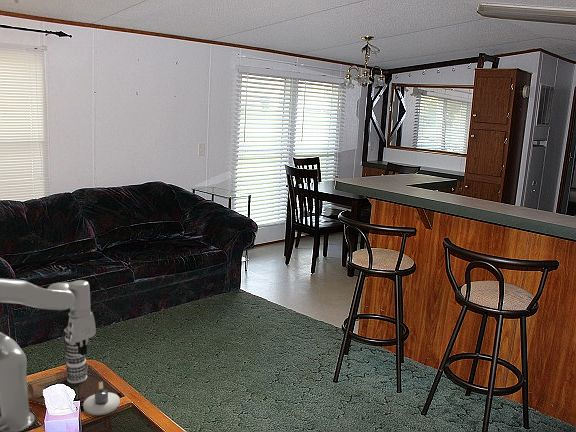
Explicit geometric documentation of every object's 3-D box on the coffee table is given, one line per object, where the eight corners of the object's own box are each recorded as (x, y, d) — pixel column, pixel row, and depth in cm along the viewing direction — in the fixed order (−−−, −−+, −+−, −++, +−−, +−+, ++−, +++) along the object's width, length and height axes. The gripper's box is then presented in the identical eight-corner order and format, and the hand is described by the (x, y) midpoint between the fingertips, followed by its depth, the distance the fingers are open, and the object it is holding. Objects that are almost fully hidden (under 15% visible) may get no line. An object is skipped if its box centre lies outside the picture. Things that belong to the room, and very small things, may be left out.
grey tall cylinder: (70, 386, 235) (67, 332, 229) (62, 377, 242) (59, 325, 236) (91, 379, 241) (89, 326, 235) (83, 370, 248) (80, 319, 242)
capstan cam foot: (108, 403, 221) (107, 393, 220) (95, 405, 219) (94, 395, 218) (107, 391, 229) (107, 380, 228) (94, 393, 228) (94, 382, 227)
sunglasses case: (14, 399, 224) (19, 383, 225) (26, 399, 230) (31, 383, 232) (52, 408, 219) (56, 391, 221) (62, 408, 225) (67, 391, 227)
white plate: (121, 411, 219) (121, 407, 219) (84, 418, 214) (84, 414, 213) (118, 392, 231) (117, 389, 231) (82, 399, 226) (82, 395, 226)
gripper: (70, 320, 208) (72, 364, 212) (102, 308, 220) (104, 349, 225) (57, 315, 212) (60, 358, 216) (90, 303, 224) (92, 344, 229)
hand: (82, 353), depth 220 cm, fingers closed
